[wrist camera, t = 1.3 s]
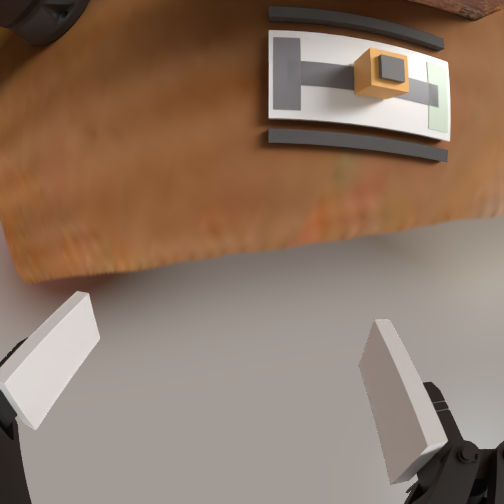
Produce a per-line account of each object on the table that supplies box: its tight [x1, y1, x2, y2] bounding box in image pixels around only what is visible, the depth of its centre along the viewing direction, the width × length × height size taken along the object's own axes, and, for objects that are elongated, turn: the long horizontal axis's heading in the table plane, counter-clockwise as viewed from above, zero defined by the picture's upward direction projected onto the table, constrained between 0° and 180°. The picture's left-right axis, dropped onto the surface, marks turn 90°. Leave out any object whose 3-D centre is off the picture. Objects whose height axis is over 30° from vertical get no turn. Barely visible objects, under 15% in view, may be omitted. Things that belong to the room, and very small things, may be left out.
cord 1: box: [269, 6, 444, 51], centre depth 24 cm, size 2×23×2 cm, turn 90°
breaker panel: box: [269, 30, 450, 141], centre depth 27 cm, size 11×23×2 cm, turn 90°
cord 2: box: [268, 129, 448, 162], centre depth 30 cm, size 2×23×2 cm, turn 90°
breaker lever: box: [354, 48, 409, 99], centre depth 23 cm, size 4×4×7 cm
